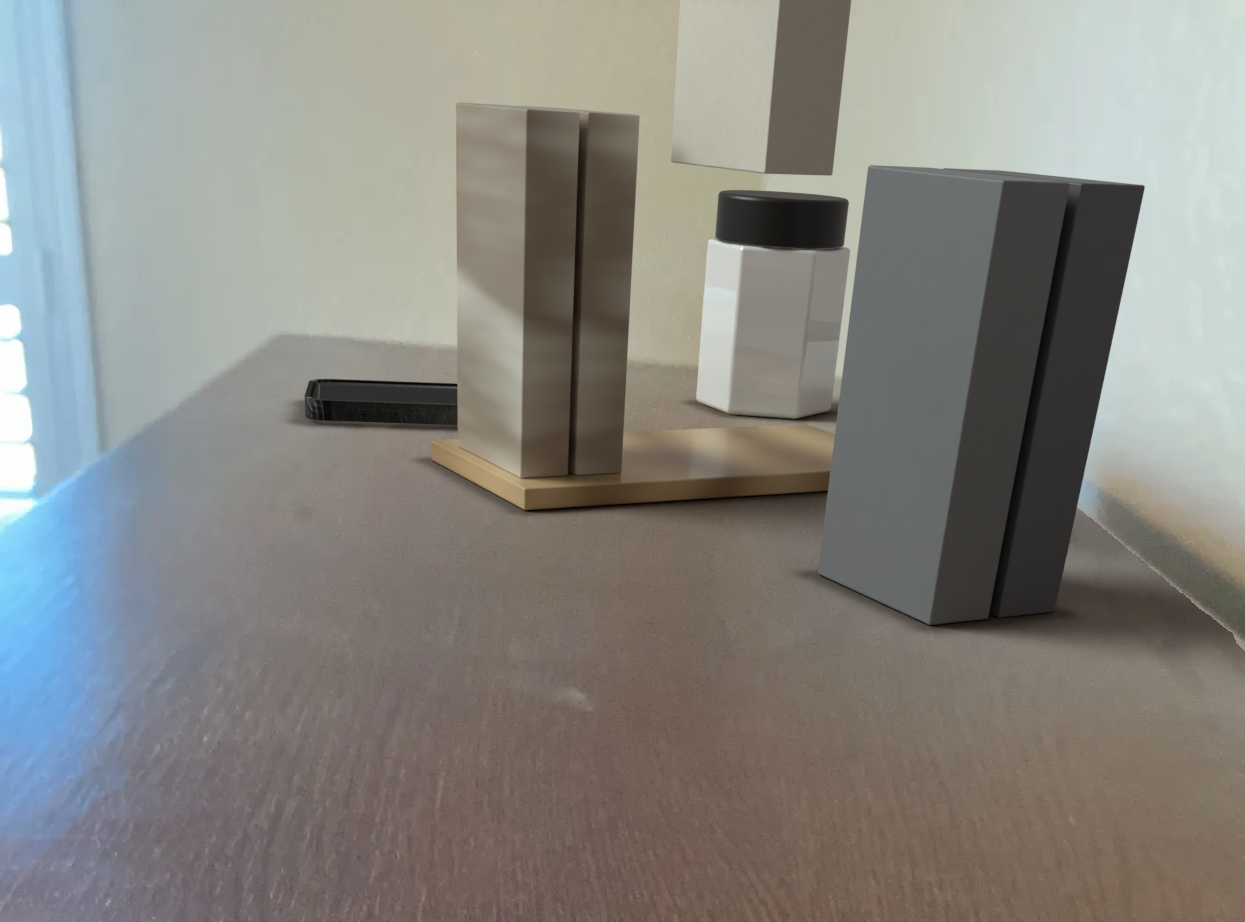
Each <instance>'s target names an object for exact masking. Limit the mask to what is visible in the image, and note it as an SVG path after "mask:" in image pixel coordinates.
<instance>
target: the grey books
mask: <svg viewBox="0 0 1245 922" xmlns="http://www.w3.org/2000/svg"><path fill="white" fill-rule="evenodd" d="M865 181H866V182H865V190H864V197H863V206H862V214H861V222H860V229H859V237H858V246H857V252H856V253H857V254H856V260H855V261H856V262H855V270H854V279H853V286H852V294H851V301H850V302H851V303H850V311H849V317H848V327H847V333H846V343H845V351H844V359H843V365H842V375H841V381H840V392H839V399H838V406H837V415H836V423H835V432H834V434H835V438H834V446H833V455H832V463H831V471H830V479H829V487H828V491H827V496H826V503H825V512H824V519H823V528H822V534H821V535H822V536H821V543H820V544H821V545H820V552H819V562H818V569H817V574H818V575H820V576H822V577H824V578H827V579H828V580H830V581H833V582H835V583H836V584H840V585H842V586H844V587H846V588H848V589H849V590H853V591H854V592H857V593H859V594H861V595H863V596H865V597H867V598H870V599H871V600H874V601H876V602H878V603H881V604H883V605H885V606H887V607H889V608H891V609H893V610H896V611H897V612H900V613H902V614H904V615H907V616H909V617H911V618H913V619H916V620H917V621H920V622H922V623H924V624H925V625H929V626H935V625H944V624H954V623H962V622H971V621H980V620H987V619H988V618H989V616H990V615H992V616H994V617H996V618H998V619H1001V618H1009V617H1019V616H1027V615H1037V614H1046V613H1053V612H1055V611H1056V607H1057V604H1058V599H1059V593H1060V588H1061V585H1062V579H1063V574H1064V570H1065V565H1066V561H1067V556H1068V551H1069V546H1070V543H1071V542H1070V541H1071V537H1072V533H1073V527H1074V523H1075V518H1076V515H1077V514H1076V513H1077V509H1078V505H1079V499H1080V495H1081V490H1082V485H1083V480H1084V476H1085V471H1086V467H1087V462H1088V458H1089V452H1090V447H1091V444H1092V438H1093V434H1094V428H1095V425H1096V419H1097V414H1098V410H1099V405H1100V400H1101V397H1102V396H1101V395H1102V392H1103V386H1104V381H1105V377H1106V372H1107V367H1108V363H1109V359H1110V352H1111V349H1112V343H1113V339H1114V335H1115V330H1116V326H1117V322H1118V321H1117V320H1118V316H1119V311H1120V306H1121V302H1122V298H1123V292H1124V288H1125V283H1126V278H1127V275H1128V274H1127V273H1128V270H1129V269H1128V268H1129V264H1130V259H1131V255H1132V249H1133V245H1134V242H1135V241H1134V240H1135V236H1136V232H1137V227H1138V223H1139V222H1138V221H1139V217H1140V213H1141V212H1140V211H1141V208H1142V203H1143V199H1144V193H1145V188H1146V187H1145V185H1144V184H1136V183H1128V182H1127V183H1125V182H1116V181H1106V180H1097V179H1096V180H1095V179H1087V178H1078V177H1068V176H1058V175H1048V174H1039V173H1028V172H1019V171H1010V170H996V169H971V168H952V167H951V168H950V167H949V168H948V167H947V168H946V167H944V168H938V167H927V166H926V167H925V166H924V167H923V166H921V167H920V166H902V165H901V166H897V165H873V164H871V165H868V167H867V173H866V180H865Z"/></svg>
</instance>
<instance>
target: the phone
mask: <svg viewBox="0 0 1245 922" xmlns="http://www.w3.org/2000/svg"><path fill="white" fill-rule="evenodd" d="M305 389H306V390H305V392H304V396H303V398H304V414H305V415H304V416H305V418H306V419H308V420H312V421H319V422H343V423H344V422H346V423H372V424H373V423H374V424H398V425H399V424H401V425H402V424H403V425H428V426H429V425H430V426H432V425H433V426H458V391H457V383H452V382H451V383H450V382H426V381H425V382H424V381H423V382H422V381H397V380H396V381H395V380H372V379H371V380H369V379H368V380H367V379H344V378H343V379H341V378H315V379H310V380H309V381H308V382H307V386H306V388H305Z"/></svg>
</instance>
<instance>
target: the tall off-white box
mask: <svg viewBox="0 0 1245 922" xmlns="http://www.w3.org/2000/svg"><path fill="white" fill-rule="evenodd" d="M851 6H852V0H679V13H678V16H679V17H678V31H677V48H676V65H675V83H674V101H673V116H672V121H673V122H672V134H671V135H672V136H671V150H670V152H671V154H670V162H671V163H672V164H673V163H674V164H682V165H691V166H699V167H705V168H706V167H708V168H715V169H724V170H730V171H731V170H732V171H739V172H747V173H749V172H750V173H755V174H763V175H794V176H795V175H796V176H797V175H798V176H830V177H831V176H832V175H833V172H834V163H835V155H836V145H837V136H838V126H839V118H840V117H839V116H840V108H841V99H842V89H843V81H844V70H845V61H846V51H847V44H848V43H847V42H848V35H849V34H848V33H849V27H850V26H849V25H850V24H849V23H850V16H851V15H850V13H851Z"/></svg>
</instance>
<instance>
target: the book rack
mask: <svg viewBox="0 0 1245 922" xmlns="http://www.w3.org/2000/svg"><path fill="white" fill-rule="evenodd" d="M640 118H641V117H640V114H635V113H625V112H614V111H613V112H611V111H601V110H589V109H576V108H567V107H566V108H564V107H552V106H551V107H549V106H532V105H531V106H529V105H510V104H509V105H508V104H496V103H495V104H492V103H474V102H473V103H472V102H456V104H455V151H456V152H455V161H456V162H455V167H456V168H455V172H456V173H455V181H456V183H455V187H456V191H455V192H456V194H455V196H456V198H455V199H456V204H455V205H456V341H457V342H456V355H457V356H456V363H457V364H456V365H457V366H456V367H457V371H456V372H457V376H456V379H457V383H456V384H457V391H458V425H457V438H452V439H451V438H449V439H432V440H431V441H430V458H431V460H432V461H433V462H435V463H437V464H438V465H441V466H443V467H444V468H446V469H448V470H450V471H452V472H454V473H455V474H457V475H459V476H461V477H462V478H464V479H467V480H468V481H470V482H472V483H474V484H475V485H478V486H479V487H481V488H483V489H484V490H486V491H489V492H490V493H493V494H494V495H496V496H498V497H500V498H501V499H503V500H506V501H507V502H509V503H511V504H513V505H514V506H517V507H518V508H520V509H522V510H524V511H536V510H551V509H565V508H567V509H568V508H583V507H599V506H610V505H611V506H613V505H615V506H616V505H630V504H643V503H644V504H646V503H660V502H661V503H663V502H675V501H676V502H677V501H678V502H679V501H692V500H693V501H694V500H707V499H709V500H710V499H720V498H721V499H722V498H724V499H725V498H736V497H737V498H739V497H740V498H741V497H752V496H753V497H757V496H768V495H769V496H771V495H787V494H801V493H816V492H828V487H829V479H830V471H831V463H832V455H833V446H834V438H835V433H832V432H830V431H827V430H823V429H820V428H818V427H815V426H812V425H810V424H805V423H804V424H803V423H802V424H782V425H781V424H780V425H759V426H758V425H757V426H733V427H710V428H709V427H708V428H707V427H706V428H688V429H687V428H685V429H664V430H663V429H660V430H641V431H640V430H639V431H638V430H637V431H624V429H625V428H624V427H625V412H626V411H625V410H626V390H627V371H628V370H627V369H628V352H629V351H628V350H629V331H630V313H631V312H630V311H631V295H632V293H631V292H632V274H633V256H634V255H633V254H634V253H633V252H634V238H635V237H634V235H635V234H634V232H635V231H634V230H635V216H636V215H635V214H636V198H637V197H636V195H637V176H638V158H639V157H638V156H639V155H638V154H639V138H640V137H639V136H640V120H641V119H640Z"/></svg>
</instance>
